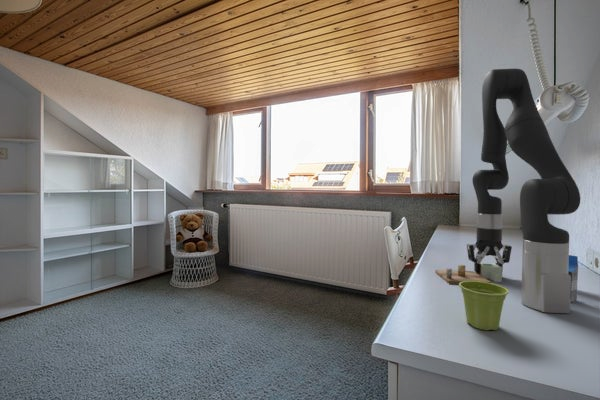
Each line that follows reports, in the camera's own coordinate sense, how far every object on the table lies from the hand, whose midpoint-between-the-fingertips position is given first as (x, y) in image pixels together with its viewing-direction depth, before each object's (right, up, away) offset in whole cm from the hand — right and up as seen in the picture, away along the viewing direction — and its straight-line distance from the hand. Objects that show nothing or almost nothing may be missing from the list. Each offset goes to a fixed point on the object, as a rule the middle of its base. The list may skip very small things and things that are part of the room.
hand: (488, 273), depth 103 cm
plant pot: (-25, -2, -37) cm, 45 cm away
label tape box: (+6, -2, -20) cm, 21 cm away
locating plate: (-11, -1, -3) cm, 11 cm away
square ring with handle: (0, -1, -2) cm, 2 cm away
